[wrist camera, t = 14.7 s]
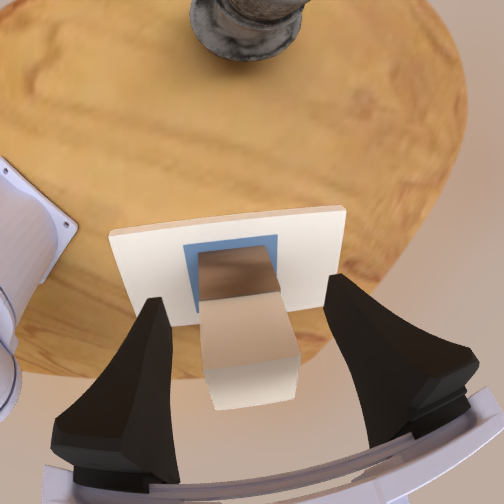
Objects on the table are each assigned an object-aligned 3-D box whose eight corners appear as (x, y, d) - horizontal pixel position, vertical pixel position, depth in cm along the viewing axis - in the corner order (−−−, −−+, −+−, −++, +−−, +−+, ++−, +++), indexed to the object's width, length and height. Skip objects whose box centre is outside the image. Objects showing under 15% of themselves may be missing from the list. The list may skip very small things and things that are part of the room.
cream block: (209, 350, 20) (215, 410, 16) (198, 301, 18) (202, 369, 13) (277, 341, 21) (294, 398, 17) (279, 291, 18) (301, 355, 14)
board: (143, 321, 26) (141, 330, 25) (111, 229, 20) (107, 237, 19) (327, 297, 28) (331, 305, 27) (341, 204, 22) (347, 210, 22)
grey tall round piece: (283, 66, 16) (393, 62, 6) (191, 66, 15) (173, 43, 5) (285, -11, 13) (385, -83, 3) (192, -13, 12) (187, -115, 2)
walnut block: (206, 301, 24) (209, 348, 20) (198, 252, 22) (199, 298, 17) (264, 294, 25) (278, 339, 21) (264, 244, 22) (280, 288, 18)
